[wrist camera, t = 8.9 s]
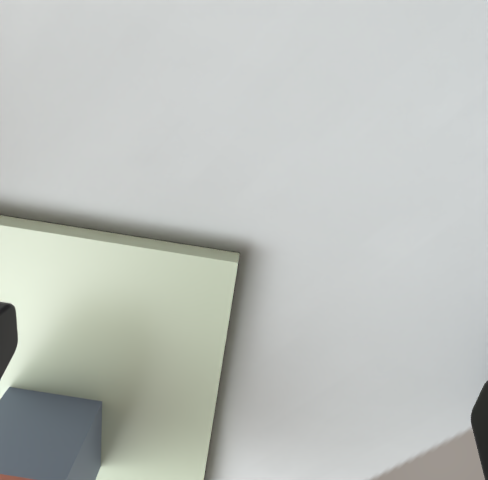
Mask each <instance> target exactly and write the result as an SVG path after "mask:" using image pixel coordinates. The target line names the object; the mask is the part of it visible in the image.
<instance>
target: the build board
mask: <svg viewBox="0 0 488 480" xmlns="http://www.w3.org/2000/svg"><path fill="white" fill-rule="evenodd" d="M239 255H240V253H236V252H230V251H223V250H217V249H211V248H205V247H198V246H192V245H186V244H179V243H173V242H167V241H160V240H154V239H148V238H141V237H135V236H129V235H123V234H116V233H110V232H104V231H97V230H91V229H85V228H78V227H72V226H66V225H59V224H53V223H47V222H41V221H34V220H28V219H22V218H15V217H9V216H3V215H0V302H6V303H11V304H13V305H14V306H15V309H16V317H17V331H18V344H17V348H16V351H15V353H14V355H13V357H12V359H11V361H10V363H9V365H8V366H7V368H6V370H5V372H4V374H3V376H2V378H1V380H0V399H1V398H2V396H3V395H4V393H5V392H6V391H7V389H8V388H9V387H14V388H20V389H26V390H33V391H39V392H46V393H52V394H58V395H65V396H71V397H78V398H84V399H90V400H97V401H102V433H101V467H100V469H99V472H98V475H97V477H96V480H204V475H205V468H206V462H207V456H208V449H209V443H210V437H211V431H212V424H213V418H214V412H215V406H216V399H217V393H218V387H219V380H220V374H221V368H222V362H223V355H224V349H225V343H226V337H227V330H228V324H229V318H230V311H231V305H232V299H233V293H234V286H235V280H236V274H237V267H238V261H239Z"/></svg>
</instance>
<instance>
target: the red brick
mask: <svg viewBox="0 0 488 480" xmlns="http://www.w3.org/2000/svg"><path fill="white" fill-rule="evenodd" d="M0 480H35V479H29V478H23V477H16V476H10V475H4V474H0Z"/></svg>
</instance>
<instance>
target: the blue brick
mask: <svg viewBox="0 0 488 480" xmlns="http://www.w3.org/2000/svg"><path fill="white" fill-rule="evenodd" d="M101 433H102V401H97V400H90V399H84V398H78V397H71V396H65V395H58V394H52V393H46V392H39V391H33V390H26V389H20V388H14V387H9V388H8V389H7V391H6V392H5V393H4V395H3V396H2V398H1V399H0V474H4V475H10V476H16V477H23V478H29V479H35V480H96V477H97V475H98V472H99V469H100V467H101Z"/></svg>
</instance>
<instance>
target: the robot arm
mask: <svg viewBox="0 0 488 480" xmlns="http://www.w3.org/2000/svg"><path fill="white" fill-rule="evenodd" d="M17 344H18V331H17V317H16V309H15V306H14V305H13V304H11V303H6V302H0V380H1V378H2V376H3V374H4V372H5V370H6V368H7V366H8V365H9V363H10V361H11V359H12V357H13V355H14V353H15V351H16V348H17ZM471 424H472V429H473V433H474V436H475V441H476V445H477V449H478V453H479V457H480V461H481V465H482V469H483V473H484V477H485V480H488V381H487V382H486V383H485V384H484V386H483V388H482V390H481V393H480V395H479V397H478V399H477V401H476V403H475V405H474V408H473V410H472V413H471Z"/></svg>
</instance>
